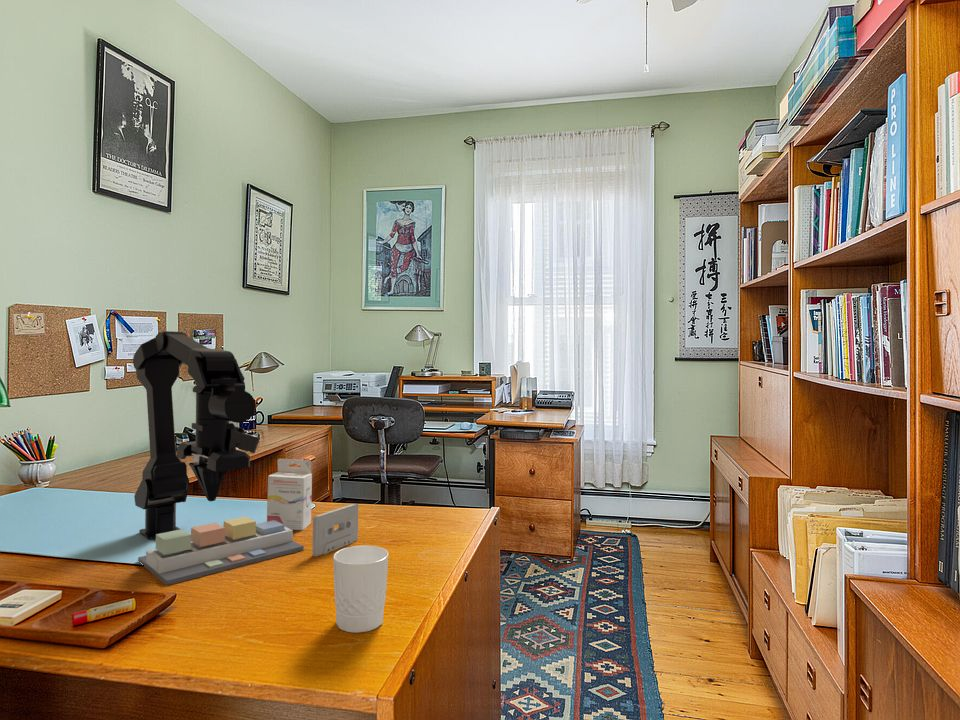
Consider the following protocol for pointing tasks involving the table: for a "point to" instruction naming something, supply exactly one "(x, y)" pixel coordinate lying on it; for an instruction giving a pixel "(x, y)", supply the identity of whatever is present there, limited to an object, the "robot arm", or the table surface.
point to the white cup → (360, 587)
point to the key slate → (269, 527)
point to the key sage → (173, 541)
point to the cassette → (334, 539)
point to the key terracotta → (207, 534)
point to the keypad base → (218, 556)
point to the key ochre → (240, 527)
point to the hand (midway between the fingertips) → (211, 500)
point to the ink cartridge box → (290, 494)
